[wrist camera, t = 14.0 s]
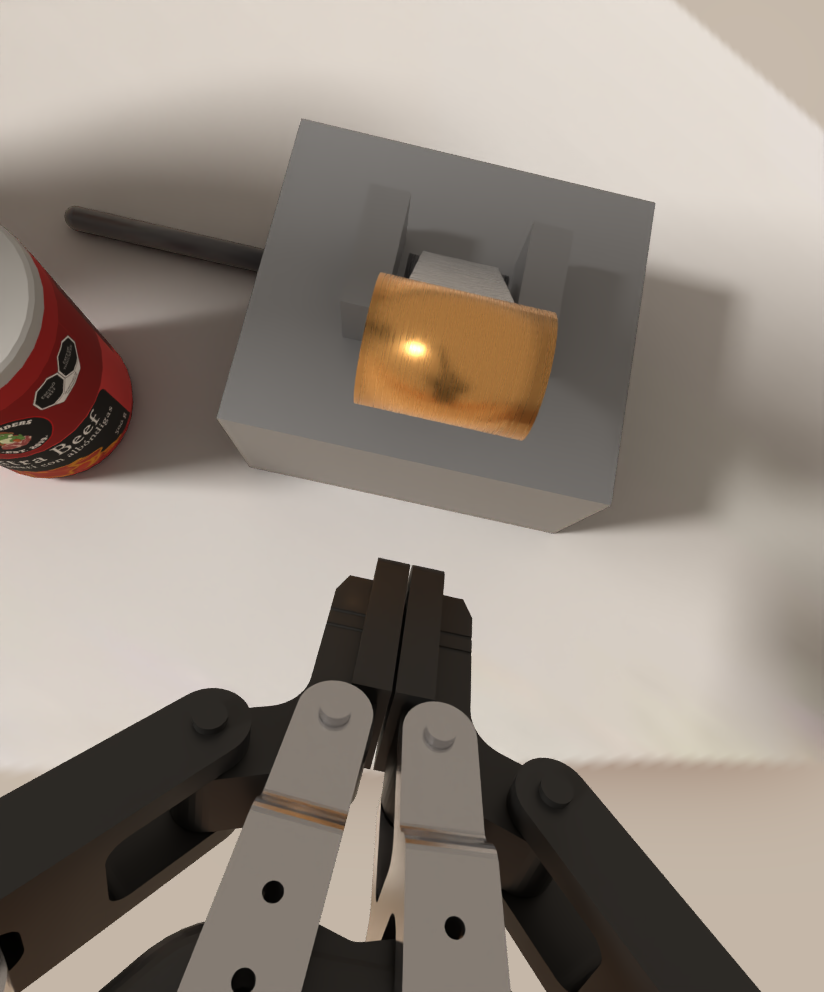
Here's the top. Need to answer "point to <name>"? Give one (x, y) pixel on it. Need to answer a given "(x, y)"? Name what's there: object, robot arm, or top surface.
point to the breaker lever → (455, 348)
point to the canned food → (53, 375)
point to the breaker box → (385, 248)
